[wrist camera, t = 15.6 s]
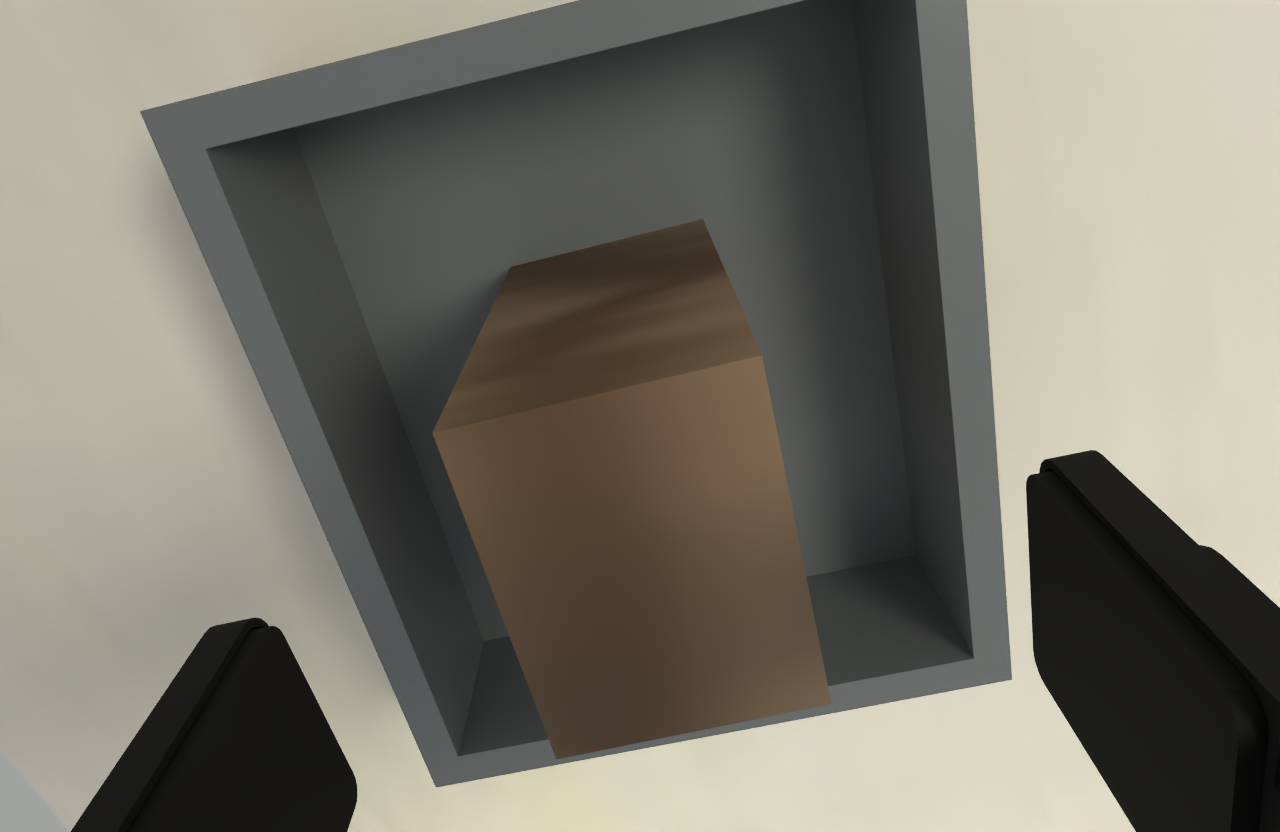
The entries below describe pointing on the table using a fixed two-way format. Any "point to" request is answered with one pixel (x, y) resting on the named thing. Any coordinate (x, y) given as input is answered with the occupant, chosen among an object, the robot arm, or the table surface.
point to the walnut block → (633, 496)
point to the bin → (600, 213)
